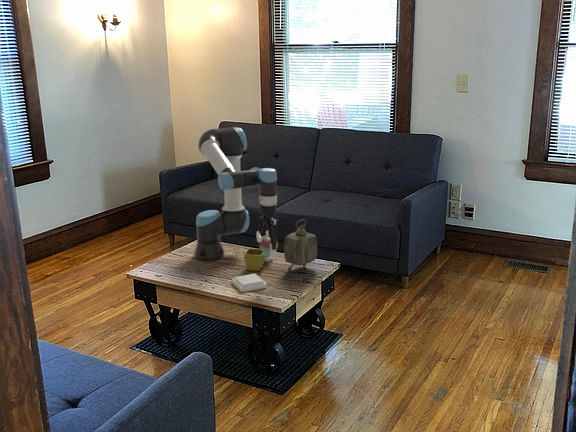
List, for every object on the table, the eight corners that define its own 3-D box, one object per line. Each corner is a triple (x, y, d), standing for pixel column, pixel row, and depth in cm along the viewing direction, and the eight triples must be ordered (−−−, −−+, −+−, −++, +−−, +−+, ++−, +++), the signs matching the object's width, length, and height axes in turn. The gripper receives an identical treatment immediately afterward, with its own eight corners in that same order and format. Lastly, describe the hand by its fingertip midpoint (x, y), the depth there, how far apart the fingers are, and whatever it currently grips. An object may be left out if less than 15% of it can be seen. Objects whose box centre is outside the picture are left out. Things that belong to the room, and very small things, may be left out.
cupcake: (272, 259, 265) (272, 233, 261) (255, 256, 268) (255, 230, 265) (281, 253, 272) (281, 227, 268) (265, 250, 276) (264, 225, 272)
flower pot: (261, 273, 286) (261, 255, 284) (243, 272, 288) (243, 254, 285) (266, 266, 295) (265, 249, 292) (248, 265, 296) (248, 248, 294)
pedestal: (232, 282, 275) (231, 276, 274) (256, 278, 280) (256, 272, 279) (241, 292, 265) (241, 285, 264) (266, 287, 270) (266, 281, 269)
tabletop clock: (304, 263, 299) (304, 214, 292) (318, 267, 293) (318, 218, 286) (284, 271, 289) (283, 221, 282) (298, 275, 283) (298, 224, 276)
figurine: (271, 263, 299) (270, 234, 295) (254, 260, 303) (253, 232, 299) (277, 258, 305) (277, 230, 301) (260, 256, 309) (260, 228, 305)
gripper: (250, 199, 271) (251, 246, 277) (271, 211, 253) (271, 261, 259) (265, 197, 274) (265, 244, 281) (287, 209, 256) (286, 259, 263)
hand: (268, 252), depth 270 cm, fingers closed on cupcake, 8 cm apart
